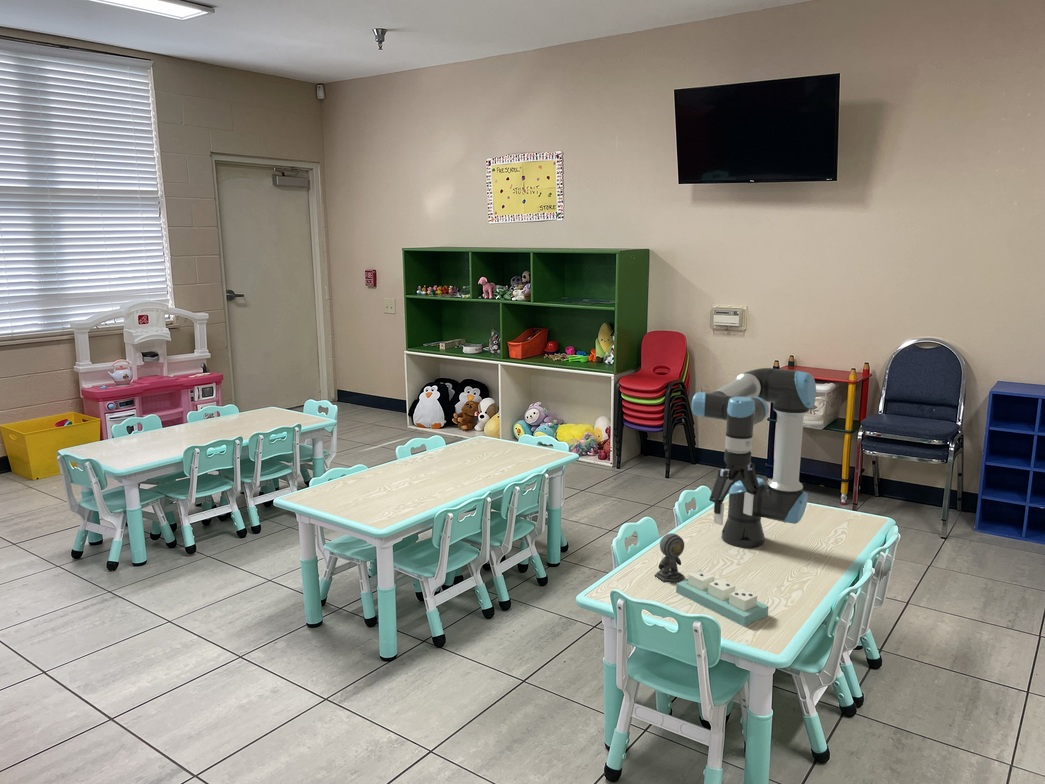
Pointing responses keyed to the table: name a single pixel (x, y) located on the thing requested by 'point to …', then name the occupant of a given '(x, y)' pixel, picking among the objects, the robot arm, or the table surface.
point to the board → (722, 605)
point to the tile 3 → (742, 600)
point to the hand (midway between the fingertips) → (733, 518)
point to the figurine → (670, 558)
